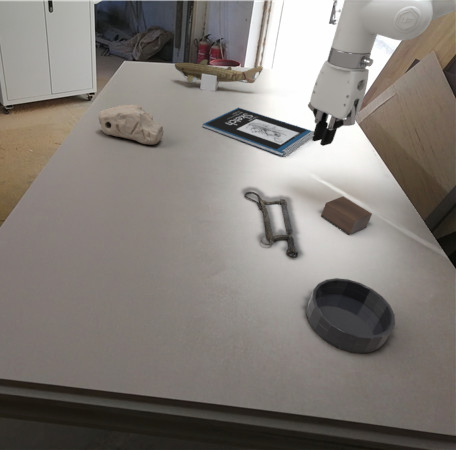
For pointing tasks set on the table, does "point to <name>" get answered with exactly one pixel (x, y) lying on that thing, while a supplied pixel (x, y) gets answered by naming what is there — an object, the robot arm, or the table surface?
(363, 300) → the pan
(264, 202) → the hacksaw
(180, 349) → the table surface
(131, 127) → the decorative stone
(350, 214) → the block
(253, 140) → the sketchbook
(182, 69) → the wood carving
